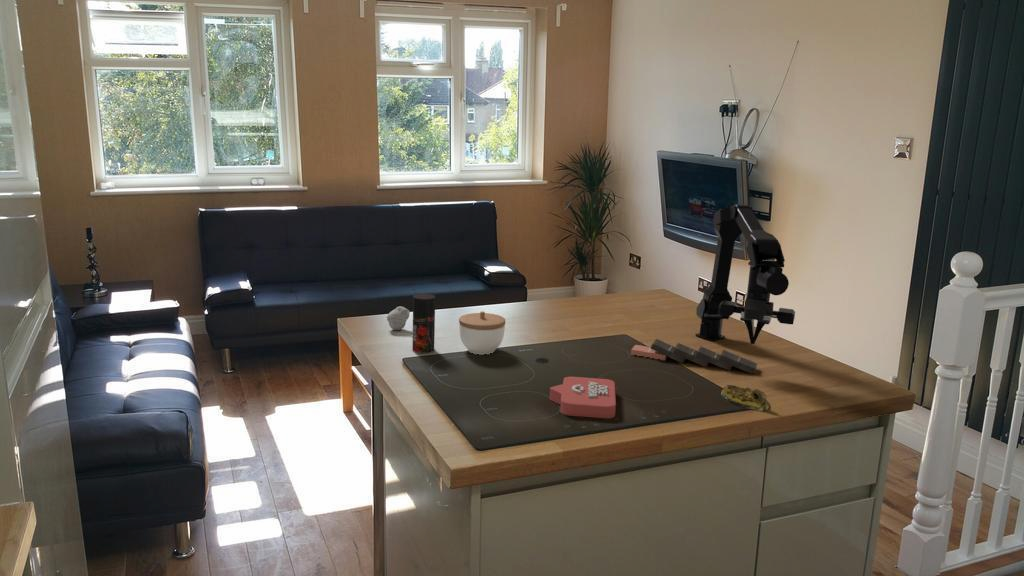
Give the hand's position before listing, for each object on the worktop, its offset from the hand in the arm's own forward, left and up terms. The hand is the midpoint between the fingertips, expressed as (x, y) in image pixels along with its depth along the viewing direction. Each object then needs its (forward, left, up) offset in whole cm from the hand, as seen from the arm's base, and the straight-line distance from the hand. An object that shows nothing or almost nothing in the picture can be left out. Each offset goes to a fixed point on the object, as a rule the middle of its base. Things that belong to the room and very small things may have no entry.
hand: (752, 343), depth 205 cm
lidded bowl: (+50, -51, -8) cm, 72 cm away
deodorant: (+63, -60, -8) cm, 88 cm away
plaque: (+53, -9, -8) cm, 54 cm away
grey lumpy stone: (+59, -80, -8) cm, 100 cm away
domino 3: (+5, -9, -7) cm, 13 cm away
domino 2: (+8, -15, -7) cm, 18 cm away
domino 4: (+2, -4, -7) cm, 8 cm away
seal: (+19, +12, -8) cm, 24 cm away
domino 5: (-1, +1, -7) cm, 7 cm away
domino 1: (+11, -19, -7) cm, 23 cm away
